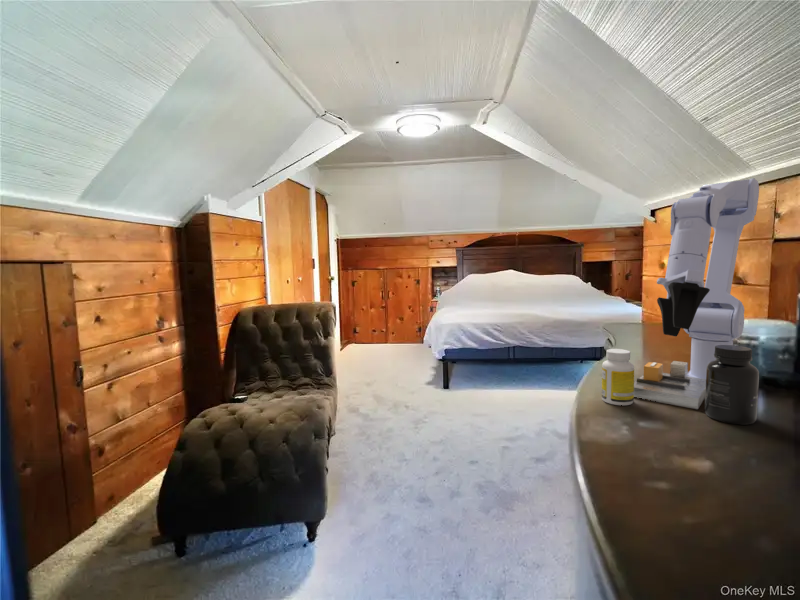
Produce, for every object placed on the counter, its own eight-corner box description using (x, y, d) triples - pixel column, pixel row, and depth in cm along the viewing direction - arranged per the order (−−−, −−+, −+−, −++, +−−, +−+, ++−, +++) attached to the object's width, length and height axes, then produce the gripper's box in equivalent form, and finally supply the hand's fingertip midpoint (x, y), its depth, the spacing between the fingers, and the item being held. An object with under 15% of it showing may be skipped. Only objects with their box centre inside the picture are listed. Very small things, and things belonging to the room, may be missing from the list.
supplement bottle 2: (767, 426, 65) (771, 352, 63) (717, 424, 66) (721, 352, 65) (740, 410, 71) (743, 343, 70) (696, 409, 73) (699, 343, 72)
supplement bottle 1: (640, 402, 77) (641, 351, 76) (621, 408, 74) (622, 355, 73) (613, 394, 82) (614, 346, 81) (595, 399, 79) (595, 350, 78)
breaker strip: (647, 379, 90) (648, 357, 90) (709, 389, 83) (710, 365, 82) (629, 396, 80) (629, 371, 80) (697, 409, 73) (698, 382, 72)
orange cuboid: (648, 376, 85) (648, 361, 85) (662, 378, 84) (662, 362, 83) (643, 380, 83) (643, 365, 82) (657, 382, 81) (658, 367, 81)
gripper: (653, 268, 82) (642, 333, 80) (671, 242, 69) (658, 319, 67) (695, 273, 80) (684, 341, 78) (721, 247, 66) (709, 328, 64)
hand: (675, 331), depth 72 cm, fingers open, 7 cm apart
